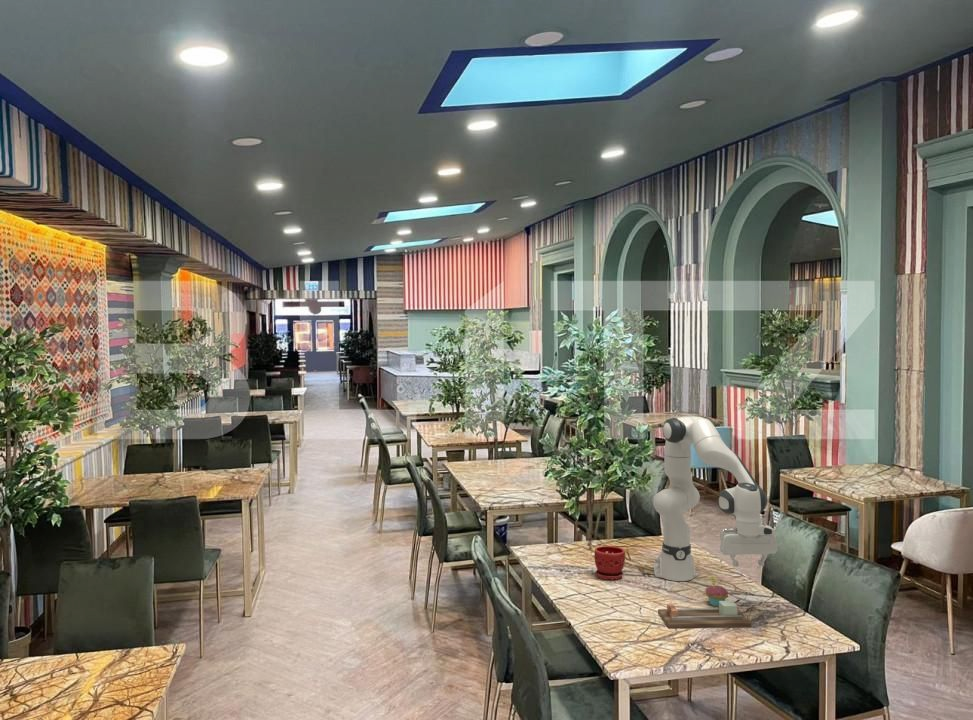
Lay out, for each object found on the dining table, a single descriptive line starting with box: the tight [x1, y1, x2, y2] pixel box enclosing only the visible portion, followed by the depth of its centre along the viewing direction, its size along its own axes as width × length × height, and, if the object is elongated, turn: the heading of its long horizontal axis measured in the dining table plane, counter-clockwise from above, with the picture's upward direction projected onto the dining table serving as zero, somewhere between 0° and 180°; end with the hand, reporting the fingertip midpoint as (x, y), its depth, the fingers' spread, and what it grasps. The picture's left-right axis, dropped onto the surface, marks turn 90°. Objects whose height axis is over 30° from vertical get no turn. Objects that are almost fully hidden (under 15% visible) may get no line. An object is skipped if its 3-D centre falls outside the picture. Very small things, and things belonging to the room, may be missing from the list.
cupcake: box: [704, 574, 729, 608], centre depth 277 cm, size 9×8×12 cm
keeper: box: [718, 600, 738, 616], centre depth 262 cm, size 5×5×4 cm
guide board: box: [657, 602, 753, 629], centre depth 262 cm, size 14×30×5 cm, turn 91°
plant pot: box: [593, 545, 626, 581], centre depth 310 cm, size 13×13×12 cm
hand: (748, 565), depth 262 cm, fingers open, 8 cm apart
